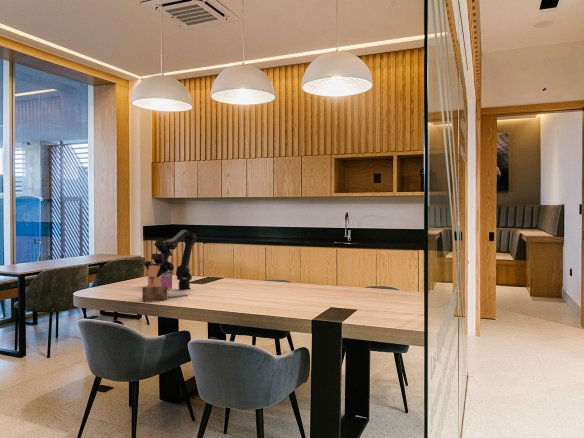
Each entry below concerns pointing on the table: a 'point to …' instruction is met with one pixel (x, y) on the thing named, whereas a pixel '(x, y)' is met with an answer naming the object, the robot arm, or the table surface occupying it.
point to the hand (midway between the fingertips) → (153, 276)
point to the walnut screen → (154, 293)
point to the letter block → (154, 276)
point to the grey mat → (176, 294)
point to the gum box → (165, 279)
